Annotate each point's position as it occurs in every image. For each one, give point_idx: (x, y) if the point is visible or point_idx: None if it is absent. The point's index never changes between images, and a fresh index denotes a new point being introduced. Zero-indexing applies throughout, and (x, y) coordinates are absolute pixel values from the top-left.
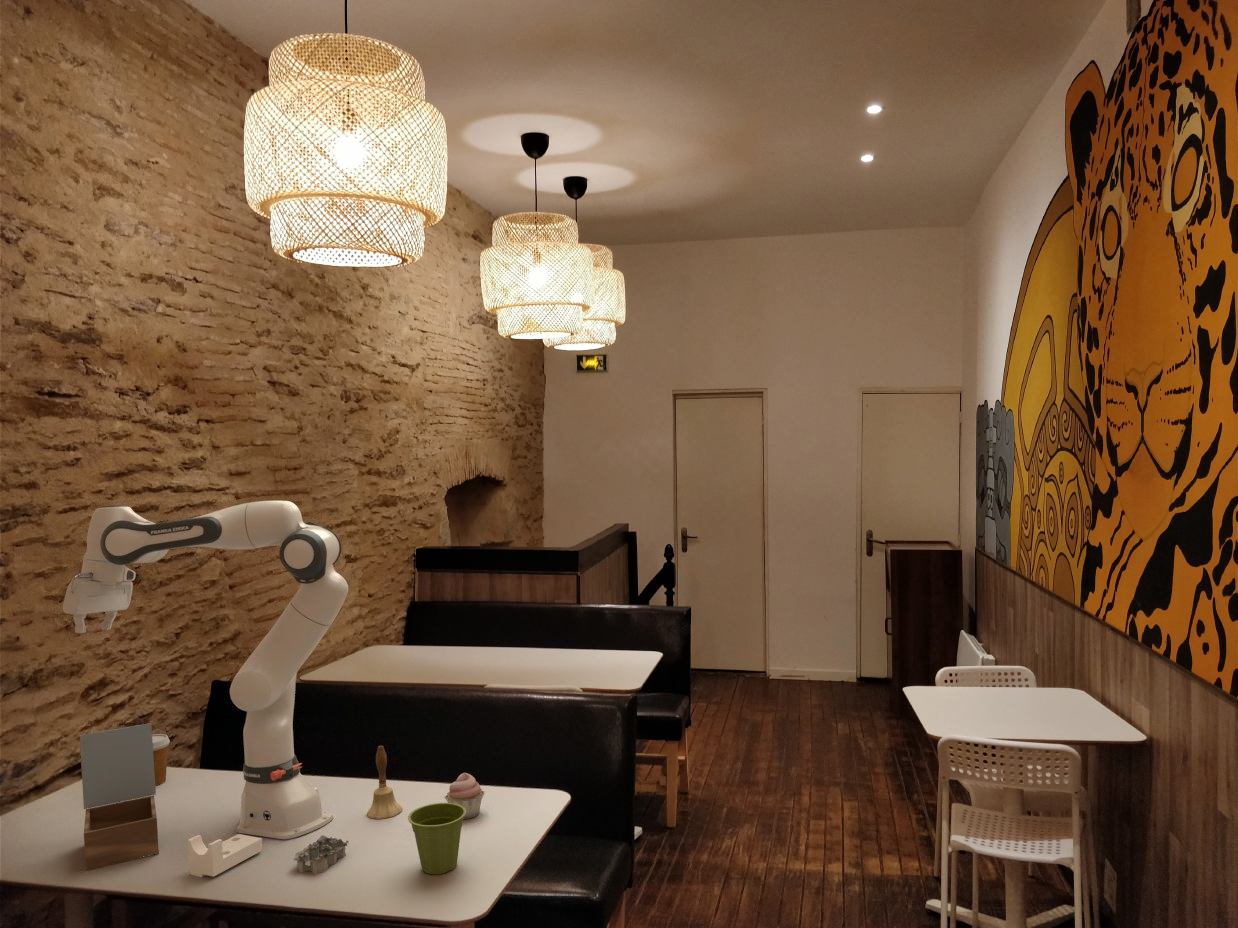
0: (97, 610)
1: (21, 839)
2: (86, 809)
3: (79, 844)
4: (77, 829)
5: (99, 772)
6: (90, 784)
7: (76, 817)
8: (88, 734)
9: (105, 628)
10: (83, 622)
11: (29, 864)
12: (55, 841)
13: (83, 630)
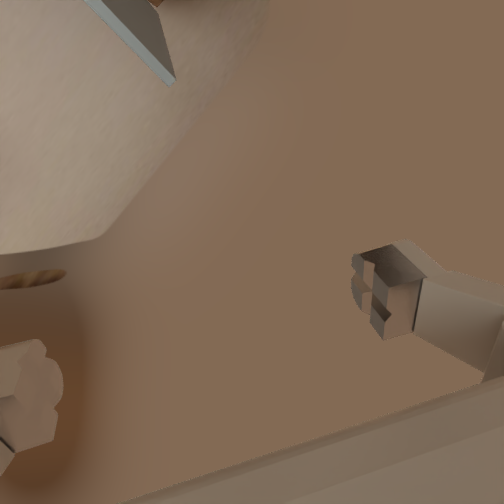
0: (422, 433)
1: (159, 144)
2: (158, 3)
3: None
4: (100, 82)
5: (134, 3)
6: (149, 14)
7: (60, 134)
8: (159, 60)
9: (40, 355)
10: (479, 286)
11: (230, 41)
12: (151, 77)
13: (402, 248)
